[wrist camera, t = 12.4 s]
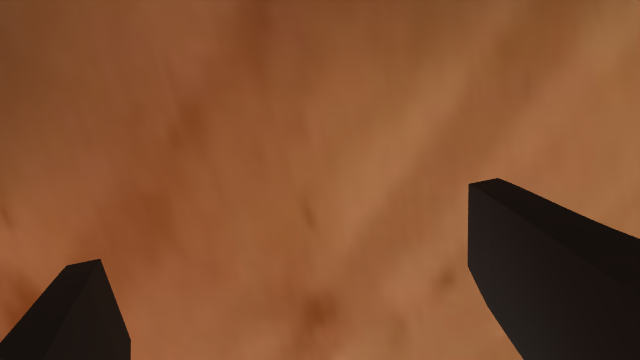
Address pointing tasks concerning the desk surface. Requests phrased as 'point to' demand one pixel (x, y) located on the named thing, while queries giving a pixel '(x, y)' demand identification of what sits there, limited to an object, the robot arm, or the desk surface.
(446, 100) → the desk surface
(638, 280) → the robot arm
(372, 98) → the desk surface
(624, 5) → the desk surface
